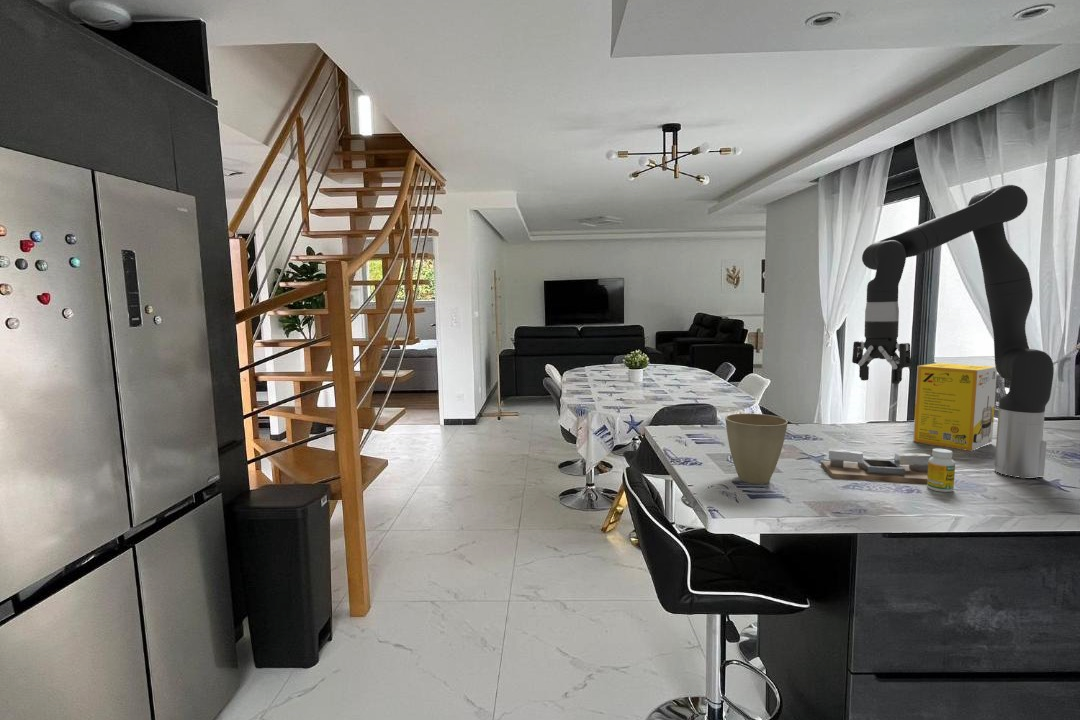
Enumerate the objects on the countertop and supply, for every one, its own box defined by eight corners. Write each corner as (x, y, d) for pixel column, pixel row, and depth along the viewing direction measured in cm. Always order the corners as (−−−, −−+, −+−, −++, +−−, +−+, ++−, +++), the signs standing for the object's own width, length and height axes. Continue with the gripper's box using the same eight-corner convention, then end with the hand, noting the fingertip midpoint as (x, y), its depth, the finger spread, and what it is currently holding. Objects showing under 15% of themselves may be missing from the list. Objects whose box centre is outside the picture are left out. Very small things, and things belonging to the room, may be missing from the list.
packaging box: (934, 435, 197) (939, 362, 194) (991, 444, 183) (997, 366, 181) (913, 441, 188) (917, 365, 185) (971, 451, 174) (977, 370, 172)
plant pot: (711, 475, 151) (713, 415, 150) (756, 469, 156) (758, 411, 155) (750, 492, 137) (753, 426, 136) (799, 485, 142) (801, 422, 141)
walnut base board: (925, 471, 154) (926, 466, 154) (946, 484, 142) (946, 480, 142) (820, 465, 160) (821, 461, 159) (832, 478, 148) (832, 473, 148)
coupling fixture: (925, 468, 152) (926, 452, 152) (939, 477, 144) (941, 461, 143) (825, 463, 158) (826, 448, 157) (834, 471, 149) (834, 456, 149)
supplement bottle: (932, 484, 143) (935, 446, 142) (957, 489, 138) (960, 451, 137) (922, 488, 140) (924, 449, 139) (947, 494, 135) (950, 454, 134)
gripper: (918, 319, 143) (916, 383, 144) (865, 319, 156) (863, 378, 157) (899, 320, 140) (897, 386, 141) (846, 319, 152) (845, 380, 154)
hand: (879, 381), depth 149 cm, fingers open, 8 cm apart
